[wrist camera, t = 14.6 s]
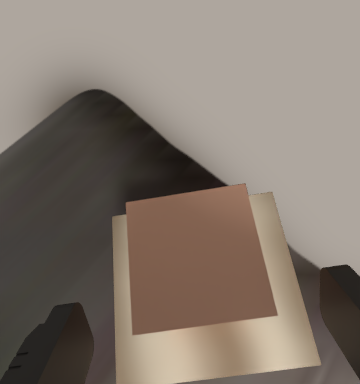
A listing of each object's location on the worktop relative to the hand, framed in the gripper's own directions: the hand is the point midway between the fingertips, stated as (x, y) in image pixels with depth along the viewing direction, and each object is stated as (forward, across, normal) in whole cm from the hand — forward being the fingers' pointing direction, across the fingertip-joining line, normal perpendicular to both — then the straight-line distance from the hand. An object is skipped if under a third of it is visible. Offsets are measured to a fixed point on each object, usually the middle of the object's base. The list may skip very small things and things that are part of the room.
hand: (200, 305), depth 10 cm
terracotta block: (+8, 0, +5) cm, 10 cm away
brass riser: (+11, 0, +8) cm, 14 cm away
